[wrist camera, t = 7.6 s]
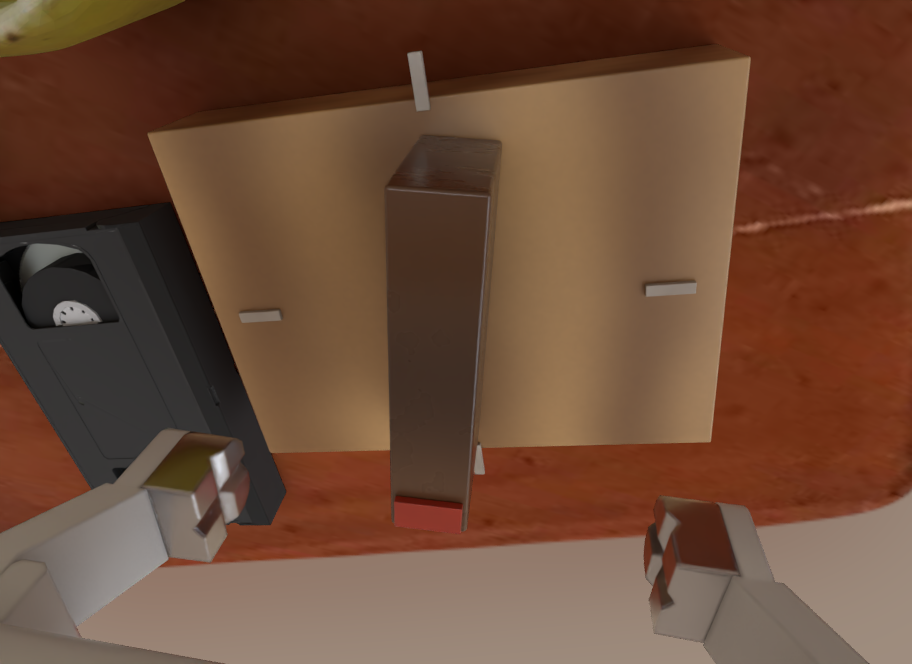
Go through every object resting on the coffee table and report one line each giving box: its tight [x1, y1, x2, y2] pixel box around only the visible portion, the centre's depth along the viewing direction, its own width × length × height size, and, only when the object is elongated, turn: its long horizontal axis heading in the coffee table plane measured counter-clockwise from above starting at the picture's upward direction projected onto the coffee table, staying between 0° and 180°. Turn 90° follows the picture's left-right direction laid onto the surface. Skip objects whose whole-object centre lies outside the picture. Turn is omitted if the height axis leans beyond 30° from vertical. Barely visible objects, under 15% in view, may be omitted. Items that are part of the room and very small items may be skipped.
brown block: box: [384, 135, 502, 534], centre depth 16 cm, size 10×2×5 cm, turn 178°
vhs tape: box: [0, 202, 286, 525], centre depth 24 cm, size 14×8×2 cm, turn 9°
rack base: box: [147, 44, 751, 474], centre depth 20 cm, size 16×14×3 cm
